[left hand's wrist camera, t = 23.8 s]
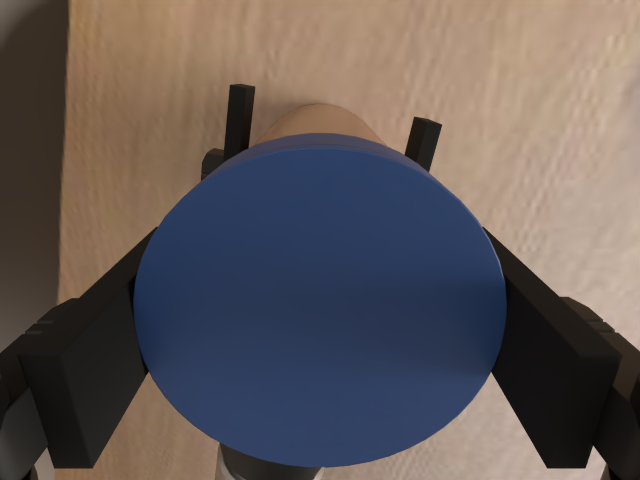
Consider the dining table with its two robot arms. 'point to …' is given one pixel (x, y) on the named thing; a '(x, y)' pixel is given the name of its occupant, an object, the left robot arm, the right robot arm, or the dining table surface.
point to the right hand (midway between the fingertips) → (336, 103)
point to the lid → (320, 302)
